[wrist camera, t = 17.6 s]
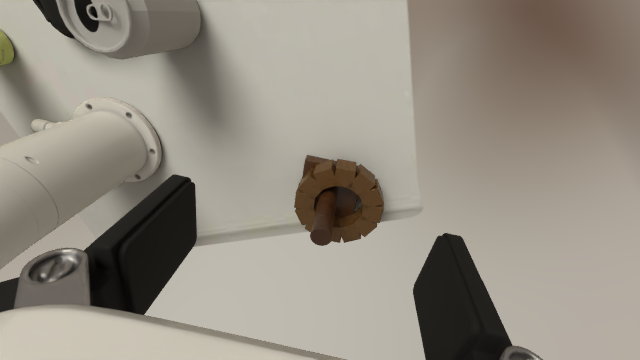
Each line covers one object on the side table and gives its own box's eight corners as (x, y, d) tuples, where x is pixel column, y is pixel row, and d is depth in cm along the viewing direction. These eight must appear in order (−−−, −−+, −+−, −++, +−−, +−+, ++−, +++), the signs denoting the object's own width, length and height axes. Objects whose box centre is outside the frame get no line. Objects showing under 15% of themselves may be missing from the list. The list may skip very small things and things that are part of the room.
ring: (294, 222, 45) (291, 233, 43) (303, 152, 39) (299, 161, 37) (371, 237, 45) (371, 249, 42) (391, 168, 39) (393, 177, 37)
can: (132, -25, 33) (27, -43, 23) (196, -29, 32) (117, -49, 22) (152, 49, 37) (69, 62, 26) (210, 47, 36) (148, 61, 25)
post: (298, 202, 45) (281, 256, 35) (307, 154, 41) (290, 199, 31) (351, 214, 45) (348, 270, 35) (364, 167, 41) (365, 216, 31)
